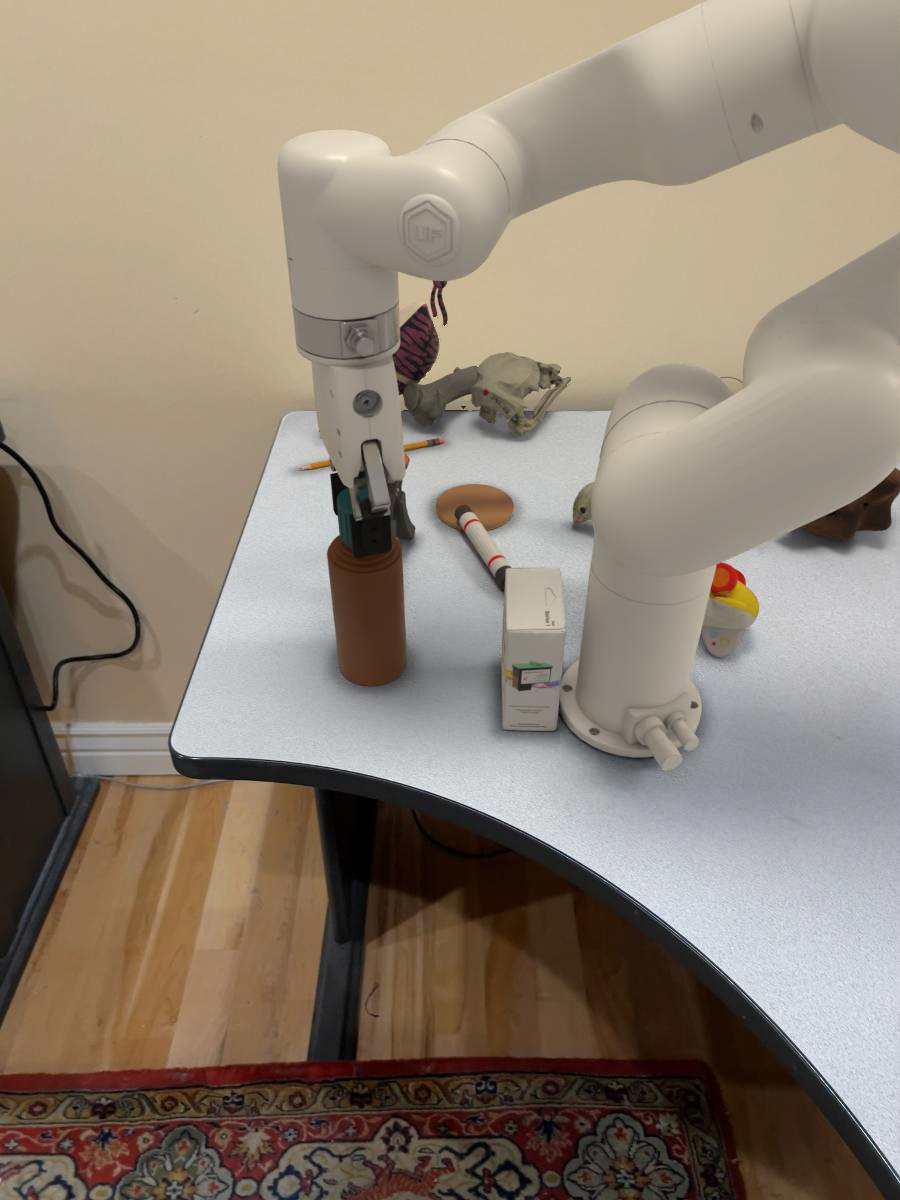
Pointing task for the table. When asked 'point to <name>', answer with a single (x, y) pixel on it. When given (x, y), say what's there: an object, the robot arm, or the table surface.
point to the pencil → (406, 447)
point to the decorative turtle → (860, 512)
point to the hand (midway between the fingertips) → (361, 530)
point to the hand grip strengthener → (399, 508)
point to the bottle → (368, 613)
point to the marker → (483, 543)
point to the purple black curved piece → (418, 339)
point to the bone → (438, 394)
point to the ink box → (532, 648)
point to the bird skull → (515, 389)
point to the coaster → (476, 505)
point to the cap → (347, 512)
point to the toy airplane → (728, 611)
